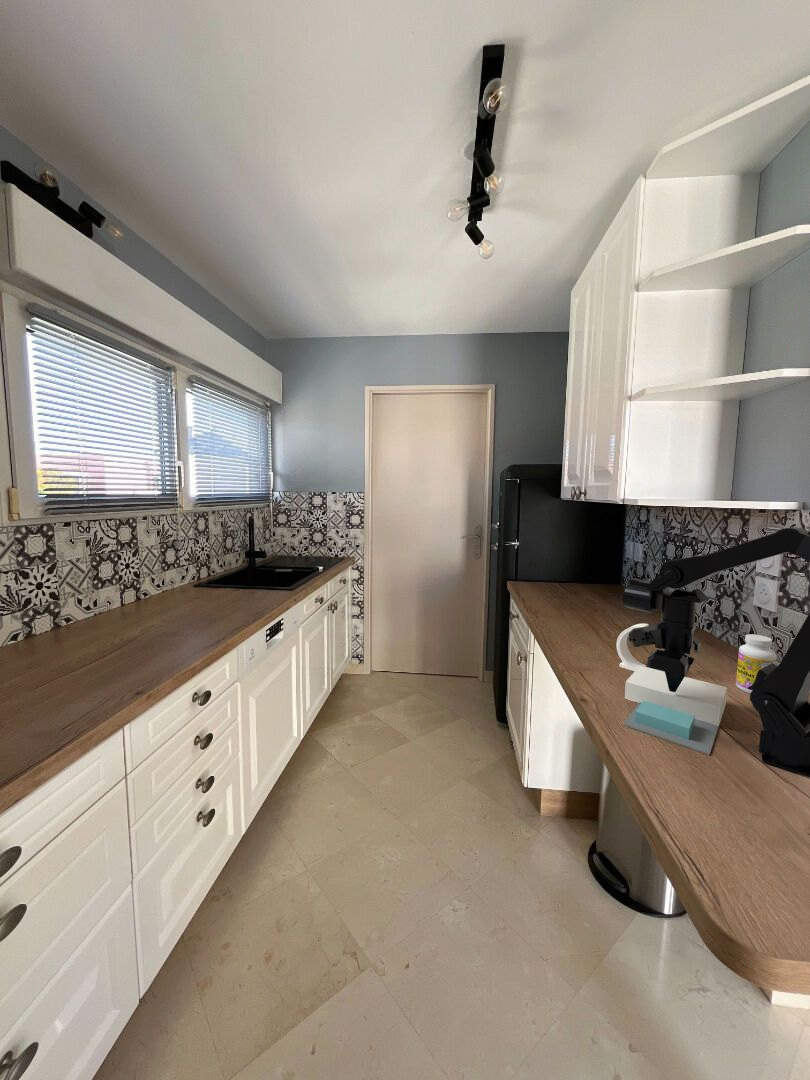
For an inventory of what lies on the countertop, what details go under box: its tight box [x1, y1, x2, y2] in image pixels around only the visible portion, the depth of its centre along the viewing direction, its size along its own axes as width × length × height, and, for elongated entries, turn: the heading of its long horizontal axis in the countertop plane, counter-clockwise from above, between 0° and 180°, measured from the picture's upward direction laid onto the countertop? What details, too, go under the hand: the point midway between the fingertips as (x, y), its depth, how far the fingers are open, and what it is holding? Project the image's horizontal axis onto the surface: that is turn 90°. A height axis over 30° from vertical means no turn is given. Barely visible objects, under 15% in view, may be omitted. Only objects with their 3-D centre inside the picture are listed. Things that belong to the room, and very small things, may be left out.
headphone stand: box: [615, 623, 650, 672], centre depth 109 cm, size 5×6×12 cm
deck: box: [624, 666, 728, 727], centre depth 91 cm, size 17×12×4 cm
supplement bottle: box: [735, 633, 777, 695], centre depth 96 cm, size 7×7×13 cm
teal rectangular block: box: [635, 701, 695, 740], centre depth 82 cm, size 9×6×2 cm, turn 47°
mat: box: [622, 702, 720, 756], centre depth 81 cm, size 14×12×1 cm
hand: (672, 691), depth 86 cm, fingers closed
